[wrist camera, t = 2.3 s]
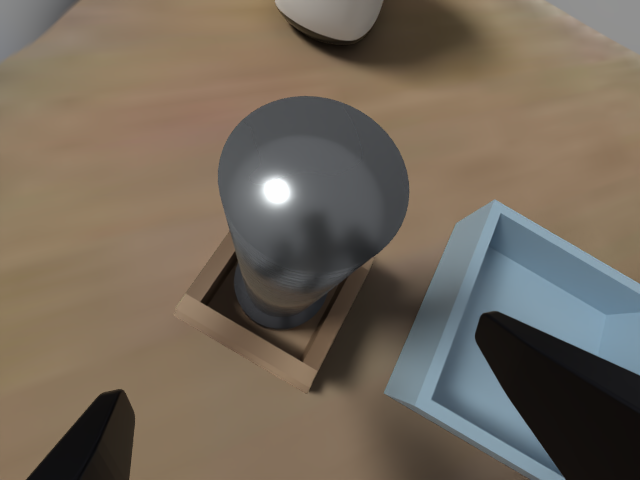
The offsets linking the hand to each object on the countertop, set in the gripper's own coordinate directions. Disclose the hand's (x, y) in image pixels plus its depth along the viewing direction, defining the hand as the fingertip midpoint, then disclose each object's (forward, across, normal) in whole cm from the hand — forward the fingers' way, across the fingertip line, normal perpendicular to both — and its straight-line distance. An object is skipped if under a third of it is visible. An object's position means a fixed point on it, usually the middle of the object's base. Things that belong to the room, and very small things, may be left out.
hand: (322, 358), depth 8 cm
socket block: (+10, 0, +5) cm, 11 cm away
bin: (+6, -13, +10) cm, 17 cm away
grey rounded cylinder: (+9, 0, +5) cm, 10 cm away
